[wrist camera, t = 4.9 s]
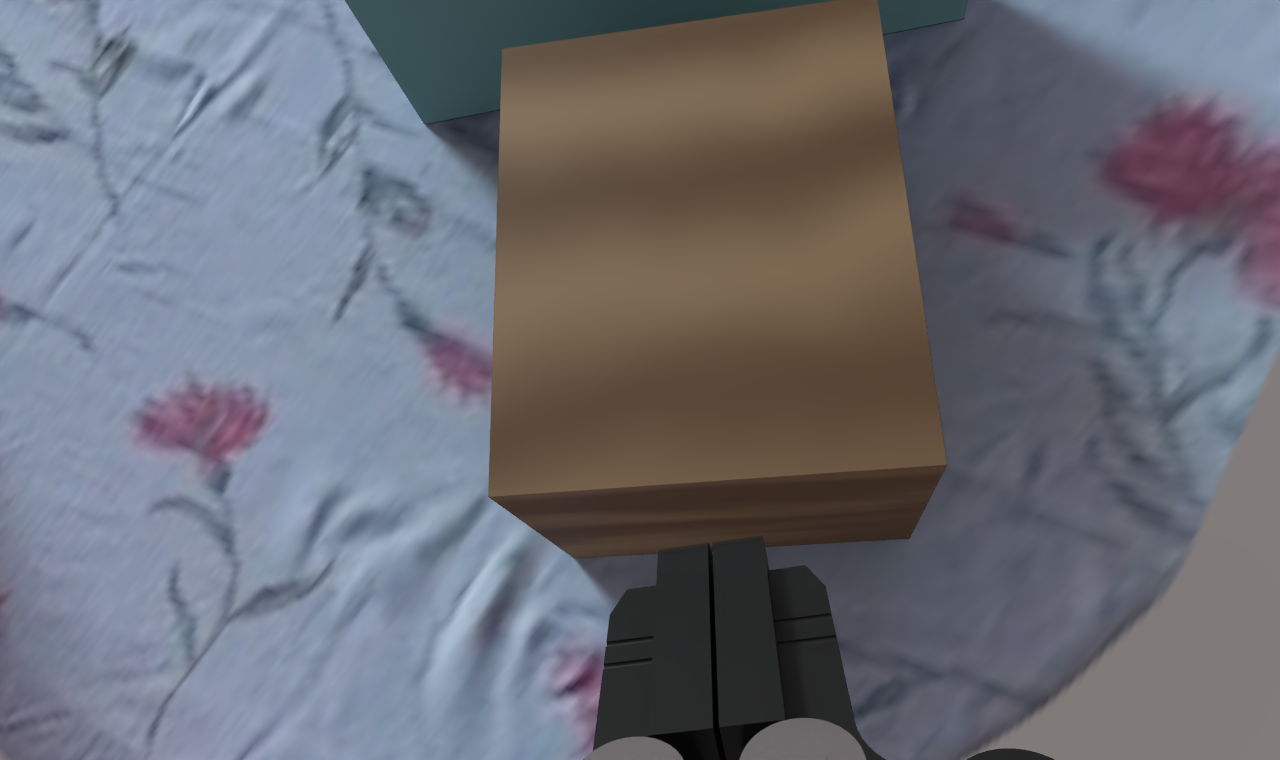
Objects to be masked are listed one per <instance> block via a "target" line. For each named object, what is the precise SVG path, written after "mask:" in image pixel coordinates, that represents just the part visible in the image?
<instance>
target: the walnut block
mask: <svg viewBox="0 0 1280 760" xmlns="http://www.w3.org/2000/svg"><path fill="white" fill-rule="evenodd" d="M946 466H947V460H946V454H945V447H944V440H943V434H942V427H941V420H940V414H939V407H938V400H937V394H936V387H935V380H934V374H933V367H932V360H931V354H930V347H929V340H928V334H927V327H926V320H925V314H924V307H923V300H922V294H921V287H920V280H919V274H918V267H917V260H916V254H915V247H914V240H913V234H912V227H911V220H910V214H909V207H908V200H907V194H906V187H905V180H904V174H903V167H902V160H901V154H900V147H899V140H898V133H897V127H896V120H895V113H894V107H893V100H892V93H891V87H890V80H889V73H888V67H887V60H886V53H885V47H884V40H883V33H882V27H881V20H880V13H879V7H878V0H836V1H829V2H822V3H815V4H808V5H801V6H795V7H788V8H781V9H774V10H767V11H760V12H753V13H746V14H739V15H732V16H725V17H719V18H712V19H705V20H698V21H691V22H684V23H677V24H670V25H663V26H656V27H649V28H643V29H636V30H629V31H622V32H615V33H608V34H601V35H594V36H587V37H580V38H573V39H567V40H560V41H553V42H546V43H539V44H532V45H525V46H518V47H511V48H504V49H502V69H501V102H500V135H499V167H498V200H497V233H496V265H495V298H494V331H493V363H492V396H491V428H490V461H489V494H488V497H489V498H491V499H492V500H493V501H495V502H496V503H498V504H499V505H500V506H502V507H503V508H505V509H506V510H507V511H509V512H510V513H512V514H513V515H514V516H516V517H517V518H519V519H520V520H521V521H523V522H524V523H526V524H527V525H528V526H530V527H531V528H533V529H534V530H535V531H537V532H538V533H540V534H541V535H542V536H544V537H545V538H547V539H548V540H549V541H551V542H552V543H554V544H555V545H556V546H558V547H559V548H560V549H562V550H563V551H565V552H566V553H567V554H569V555H570V556H572V557H573V558H588V557H605V556H622V555H639V554H655V553H658V552H659V550H660V549H667V548H675V547H682V546H689V545H696V544H704V543H709V544H710V547H711V550H713V542H717V541H724V540H731V539H738V538H746V537H753V536H760V535H763V539H764V544H765V547H774V546H791V545H808V544H825V543H842V542H859V541H876V540H893V539H909V538H910V536H911V534H912V532H913V530H914V528H915V526H916V524H917V523H918V521H919V519H920V517H921V515H922V513H923V511H924V509H925V507H926V505H927V503H928V501H929V499H930V497H931V495H932V493H933V491H934V489H935V487H936V485H937V484H938V482H939V480H940V478H941V476H942V474H943V472H944V470H945V468H946Z"/></svg>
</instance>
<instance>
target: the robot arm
mask: <svg viewBox="0 0 1280 760" xmlns="http://www.w3.org/2000/svg"><path fill="white" fill-rule="evenodd" d="M583 760H885V759H884V758H882V757H881V756H879V755H878V754H876V753H875V752H874V751H873V750H872V749H871V748H870V747H869V746H868V745H867V744H866V743H865V741H864V740H863V739H862V737H861V736H860V734H859V732H858V730H857V727H856V724H855V721H854V716H853V712H852V707H851V702H850V698H849V693H848V688H847V684H846V679H845V675H844V670H843V665H842V661H841V656H840V651H839V647H838V642H837V638H836V633H835V628H834V624H833V619H832V615H831V610H830V605H829V600H828V596H827V591H826V587H825V585H824V584H823V583H822V582H821V581H820V580H819V579H818V578H817V577H816V576H815V575H814V574H813V573H812V572H811V571H810V570H809V569H808V568H807V567H806V566H799V567H791V568H784V569H776V570H769V567H768V561H767V555H766V549H765V544H764V539H763V535H760V536H753V537H746V538H738V539H731V540H724V541H717V542H713V555H712V550H711V547H710V544H709V543H704V544H696V545H689V546H682V547H675V548H667V549H660V550H659V552H658V565H657V583H656V586H650V587H643V588H635V589H628V590H627V591H626V592H625V594H624V595H623V596H622V598H621V599H620V601H619V602H618V604H617V605H616V607H615V608H614V610H613V611H612V613H611V614H610V619H609V627H608V635H607V647H606V651H605V659H604V669H603V675H602V683H601V691H600V699H599V707H598V715H597V723H596V731H595V739H594V747H593V752H591V753H590V754H589V755H587V756H586V757H585V758H584V759H583ZM967 760H1054V759H1052V758H1050V757H1047V756H1044V755H1042V754H1039V753H1036V752H1032V751H1027V750H1021V749H996V750H989V751H986V752H982V753H979V754H977V755H975V756H973V757H971V758H969V759H967Z"/></svg>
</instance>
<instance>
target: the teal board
mask: <svg viewBox="0 0 1280 760" xmlns="http://www.w3.org/2000/svg"><path fill="white" fill-rule="evenodd" d="M345 1H346V3H347V4H348V6H349V8H350V9H351V11H352V12H353V14H354V15H355V17H356V18H357V20H358V22H359V23H360V25H361V26H362V28H363V29H364V31H365V33H366V34H367V36H368V37H369V39H370V40H371V42H372V43H373V45H374V47H375V48H376V50H377V51H378V53H379V54H380V56H381V57H382V59H383V61H384V62H385V64H386V65H387V67H388V68H389V70H390V71H391V73H392V75H393V76H394V78H395V79H396V81H397V82H398V84H399V86H400V87H401V89H402V90H403V92H404V93H405V95H406V96H407V98H408V100H409V101H410V103H411V104H412V106H413V107H414V109H415V110H416V112H417V114H418V115H419V117H420V118H421V120H422V121H423V123H424V124H429V123H434V122H439V121H444V120H449V119H454V118H459V117H464V116H469V115H474V114H480V113H485V112H490V111H495V110H500V102H501V69H502V49H504V48H511V47H518V46H525V45H532V44H539V43H546V42H553V41H560V40H567V39H573V38H580V37H587V36H594V35H601V34H608V33H615V32H622V31H629V30H636V29H643V28H649V27H656V26H663V25H670V24H677V23H684V22H691V21H698V20H705V19H712V18H719V17H725V16H732V15H739V14H746V13H753V12H760V11H767V10H774V9H781V8H788V7H795V6H801V5H808V4H815V3H822V2H829V1H836V0H345ZM967 1H968V0H878V7H879V13H880V20H881V27H882V33H883V34H887V33H893V32H898V31H903V30H908V29H913V28H918V27H923V26H928V25H933V24H938V23H944V22H949V21H954V20H959V19H964V15H965V10H966V6H967Z"/></svg>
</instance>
